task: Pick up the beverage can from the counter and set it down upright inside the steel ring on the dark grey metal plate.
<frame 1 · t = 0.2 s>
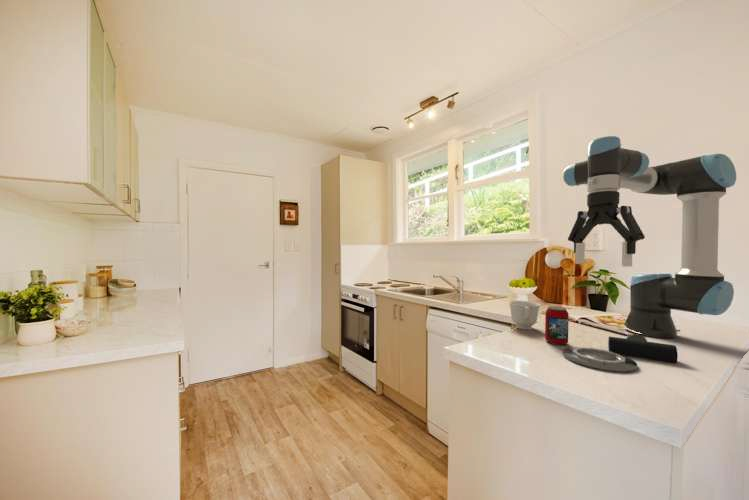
hand: (601, 265, 88), 27 cm above the worktop, tool pointing down, fingers open, 13 cm apart
teacup: (524, 329, 121), on the worktop
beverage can: (556, 343, 103), on the worktop
pipe connector: (638, 355, 93), on the worktop
ring plate: (597, 360, 87), on the worktop
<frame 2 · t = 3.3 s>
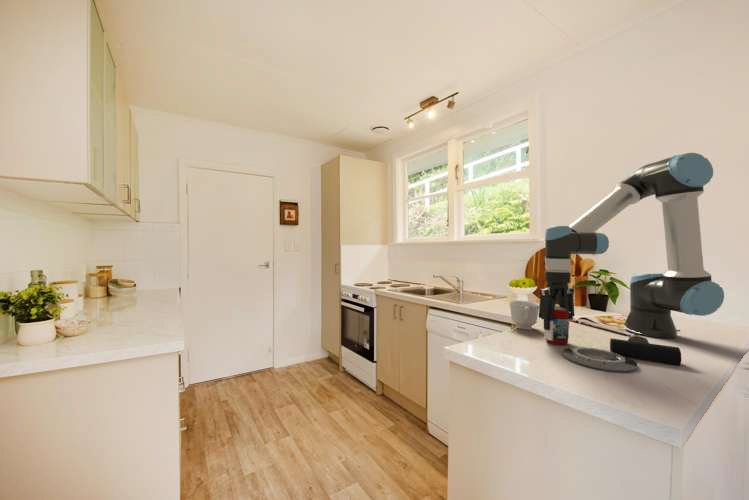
hand: (556, 338, 103), 2 cm above the worktop, tool pointing down, fingers closed on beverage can, 7 cm apart
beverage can: (556, 343, 103), on the worktop, touching gripper
pipe connector: (640, 357, 91), on the worktop
everything else where it was.
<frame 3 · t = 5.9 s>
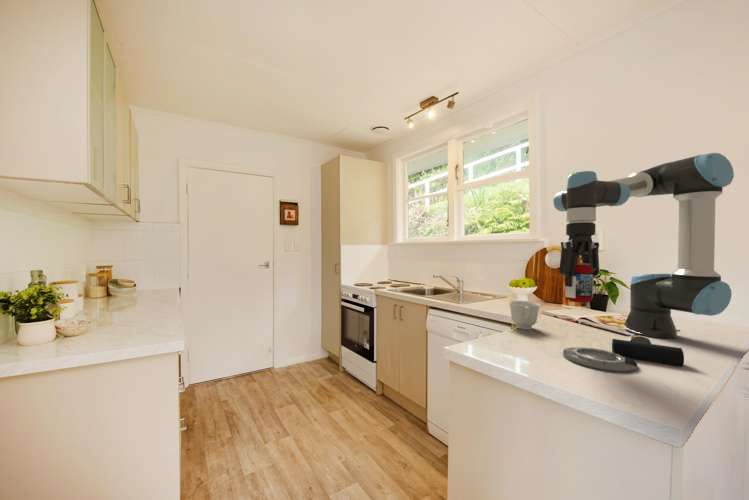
hand: (579, 296, 93), 17 cm above the worktop, tool pointing down, fingers closed on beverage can, 7 cm apart
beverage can: (578, 302, 93), point 16 cm above the worktop, touching gripper
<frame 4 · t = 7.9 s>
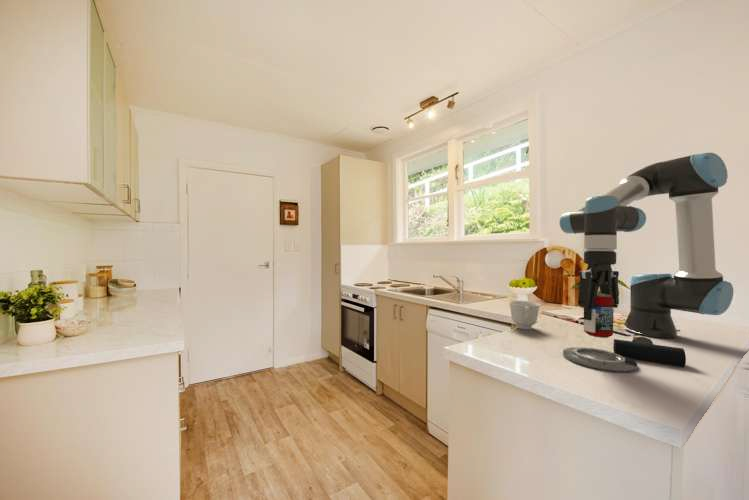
hand: (598, 330, 87), 9 cm above the worktop, tool pointing down, fingers closed on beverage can, 7 cm apart
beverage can: (597, 336, 87), point 7 cm above the worktop, touching gripper
when the fingers open (4 cm above the worktop, at t = 9.2 s): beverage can drops 1 cm, resting on ring plate.
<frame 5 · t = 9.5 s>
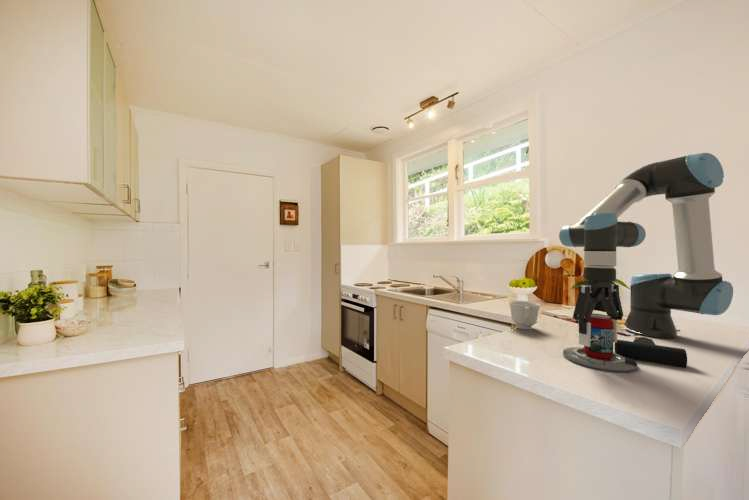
hand: (598, 343, 87), 5 cm above the worktop, tool pointing down, fingers open, 11 cm apart
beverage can: (598, 357, 87), point 1 cm above the worktop, touching ring plate
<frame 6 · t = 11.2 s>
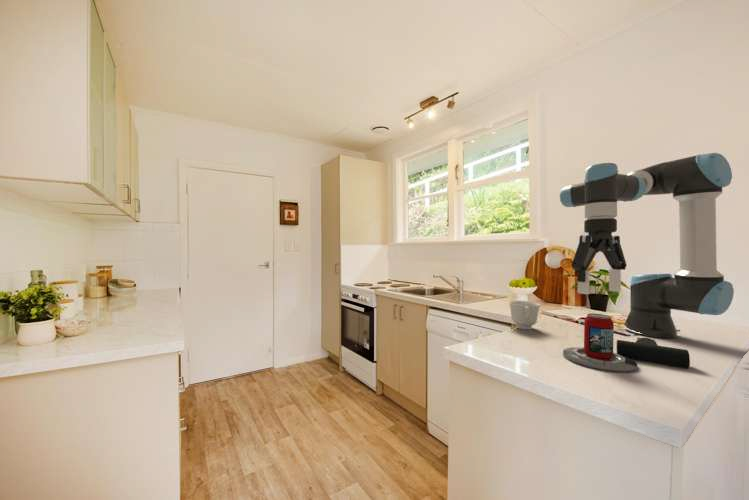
hand: (599, 292, 87), 20 cm above the worktop, tool pointing down, fingers open, 13 cm apart
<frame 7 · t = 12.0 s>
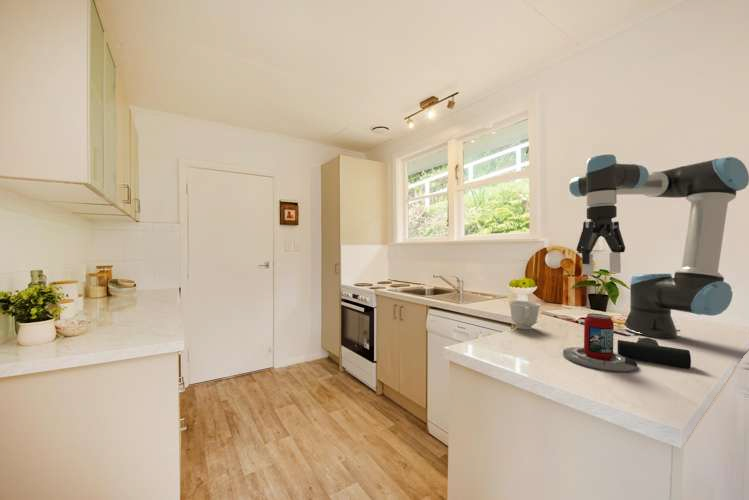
hand: (601, 273, 95), 24 cm above the worktop, tool pointing down, fingers open, 13 cm apart
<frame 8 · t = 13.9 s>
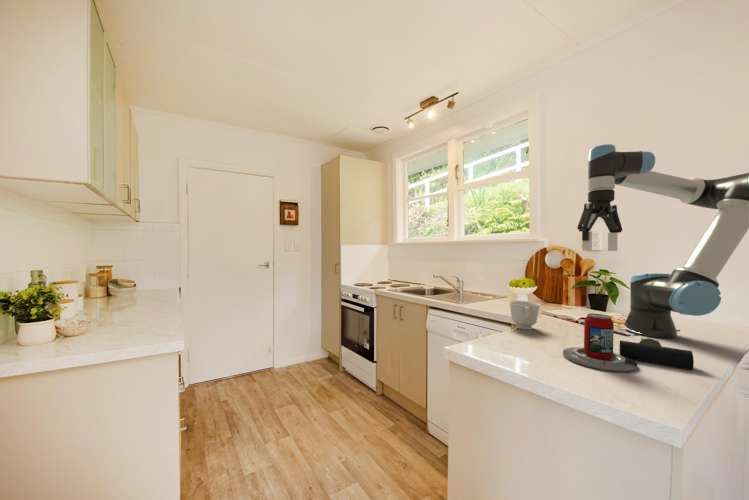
hand: (600, 250, 106), 32 cm above the worktop, tool pointing down, fingers open, 13 cm apart
at the end: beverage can 0.1 cm off-centre on the ring plate, point 0.8 cm above the ring plate's base; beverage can tilted 0°; the gripper is holding nothing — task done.
